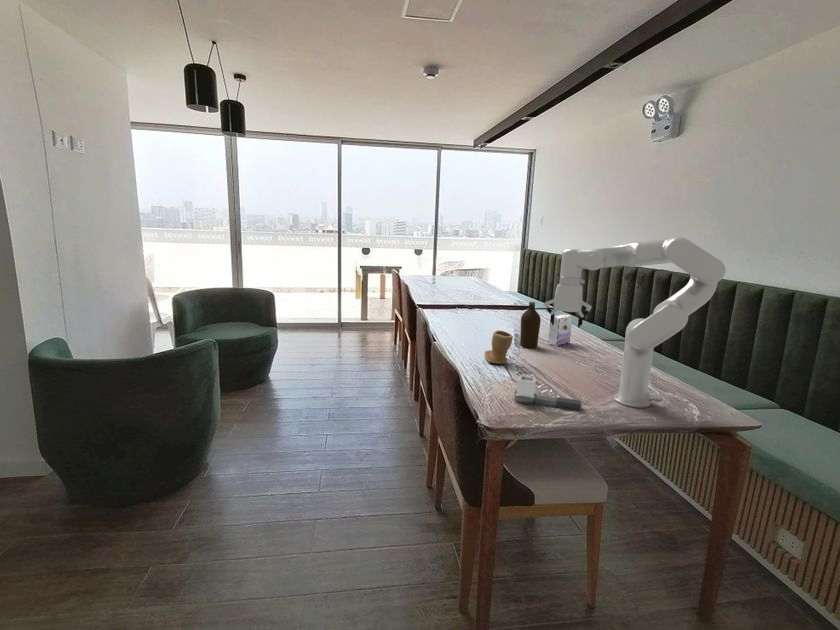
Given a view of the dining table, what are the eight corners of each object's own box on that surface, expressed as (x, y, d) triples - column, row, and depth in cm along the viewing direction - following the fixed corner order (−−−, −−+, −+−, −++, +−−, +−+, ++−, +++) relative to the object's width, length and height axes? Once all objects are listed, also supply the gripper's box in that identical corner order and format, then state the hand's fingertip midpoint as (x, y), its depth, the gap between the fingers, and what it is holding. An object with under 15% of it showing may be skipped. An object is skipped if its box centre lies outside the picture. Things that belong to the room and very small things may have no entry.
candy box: (561, 341, 250) (563, 313, 247) (570, 343, 246) (572, 315, 242) (547, 344, 241) (550, 316, 238) (556, 346, 237) (559, 317, 234)
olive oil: (524, 349, 229) (527, 303, 224) (515, 344, 239) (518, 300, 235) (541, 348, 231) (545, 303, 227) (532, 343, 242) (536, 300, 237)
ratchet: (580, 404, 154) (582, 387, 153) (581, 412, 147) (583, 395, 145) (515, 395, 161) (516, 379, 160) (513, 402, 154) (514, 385, 153)
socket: (534, 392, 158) (535, 377, 157) (533, 398, 152) (534, 382, 151) (518, 390, 160) (519, 375, 158) (516, 395, 154) (517, 380, 153)
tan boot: (512, 366, 198) (514, 335, 195) (487, 365, 198) (489, 334, 195) (507, 357, 213) (509, 328, 210) (484, 356, 213) (485, 327, 210)
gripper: (593, 282, 161) (588, 326, 164) (546, 279, 167) (543, 321, 170) (595, 284, 154) (590, 329, 157) (545, 281, 160) (542, 325, 163)
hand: (565, 325), depth 164 cm, fingers open, 9 cm apart
